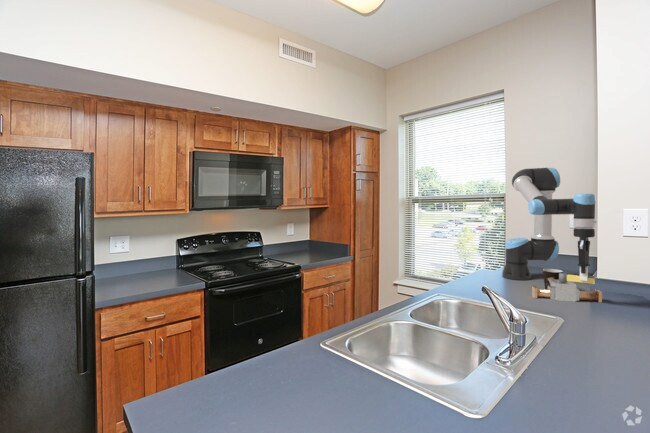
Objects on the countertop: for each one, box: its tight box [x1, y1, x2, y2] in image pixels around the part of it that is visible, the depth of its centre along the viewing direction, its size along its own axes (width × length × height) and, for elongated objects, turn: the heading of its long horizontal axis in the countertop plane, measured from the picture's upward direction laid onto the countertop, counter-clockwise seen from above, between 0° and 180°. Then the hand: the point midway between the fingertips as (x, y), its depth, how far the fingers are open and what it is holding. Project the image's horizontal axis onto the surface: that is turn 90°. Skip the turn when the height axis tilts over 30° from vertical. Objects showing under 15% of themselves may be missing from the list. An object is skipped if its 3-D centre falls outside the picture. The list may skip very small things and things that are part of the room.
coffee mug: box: [542, 268, 564, 289], centre depth 170 cm, size 12×9×10 cm
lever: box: [559, 272, 596, 285], centre depth 153 cm, size 13×3×4 cm, turn 47°
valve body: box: [531, 279, 603, 303], centre depth 156 cm, size 8×26×8 cm, turn 70°
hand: (583, 280), depth 149 cm, fingers closed
